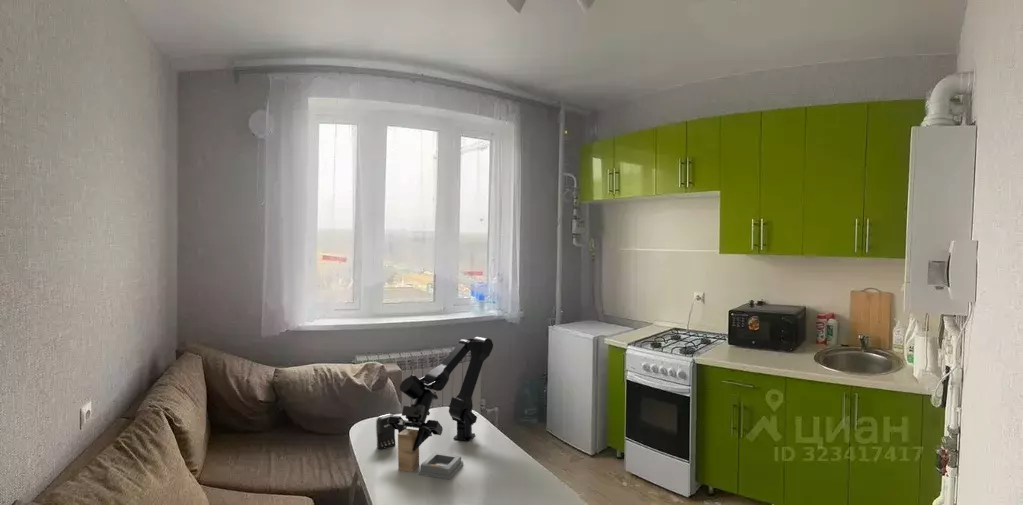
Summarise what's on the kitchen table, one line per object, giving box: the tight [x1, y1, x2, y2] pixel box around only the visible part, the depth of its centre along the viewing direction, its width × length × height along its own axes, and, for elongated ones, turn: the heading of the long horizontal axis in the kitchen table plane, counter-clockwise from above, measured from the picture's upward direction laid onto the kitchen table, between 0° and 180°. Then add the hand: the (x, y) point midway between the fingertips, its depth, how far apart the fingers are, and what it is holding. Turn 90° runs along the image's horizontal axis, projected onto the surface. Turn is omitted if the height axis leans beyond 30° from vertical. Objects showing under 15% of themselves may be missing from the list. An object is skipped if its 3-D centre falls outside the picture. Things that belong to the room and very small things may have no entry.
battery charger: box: [375, 413, 396, 450], centre depth 185 cm, size 7×4×11 cm, turn 128°
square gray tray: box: [417, 451, 464, 480], centre depth 167 cm, size 11×11×3 cm
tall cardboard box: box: [397, 428, 420, 472], centre depth 168 cm, size 5×5×12 cm
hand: (406, 449), depth 167 cm, fingers closed on tall cardboard box, 5 cm apart
